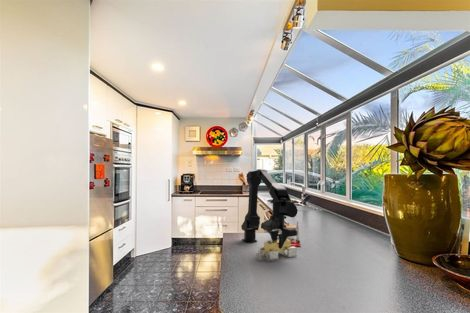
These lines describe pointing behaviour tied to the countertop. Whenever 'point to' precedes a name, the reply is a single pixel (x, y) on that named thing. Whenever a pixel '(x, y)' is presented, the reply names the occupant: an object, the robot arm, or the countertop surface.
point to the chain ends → (275, 254)
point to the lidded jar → (290, 227)
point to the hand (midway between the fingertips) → (277, 247)
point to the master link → (276, 245)
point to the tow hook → (296, 237)
